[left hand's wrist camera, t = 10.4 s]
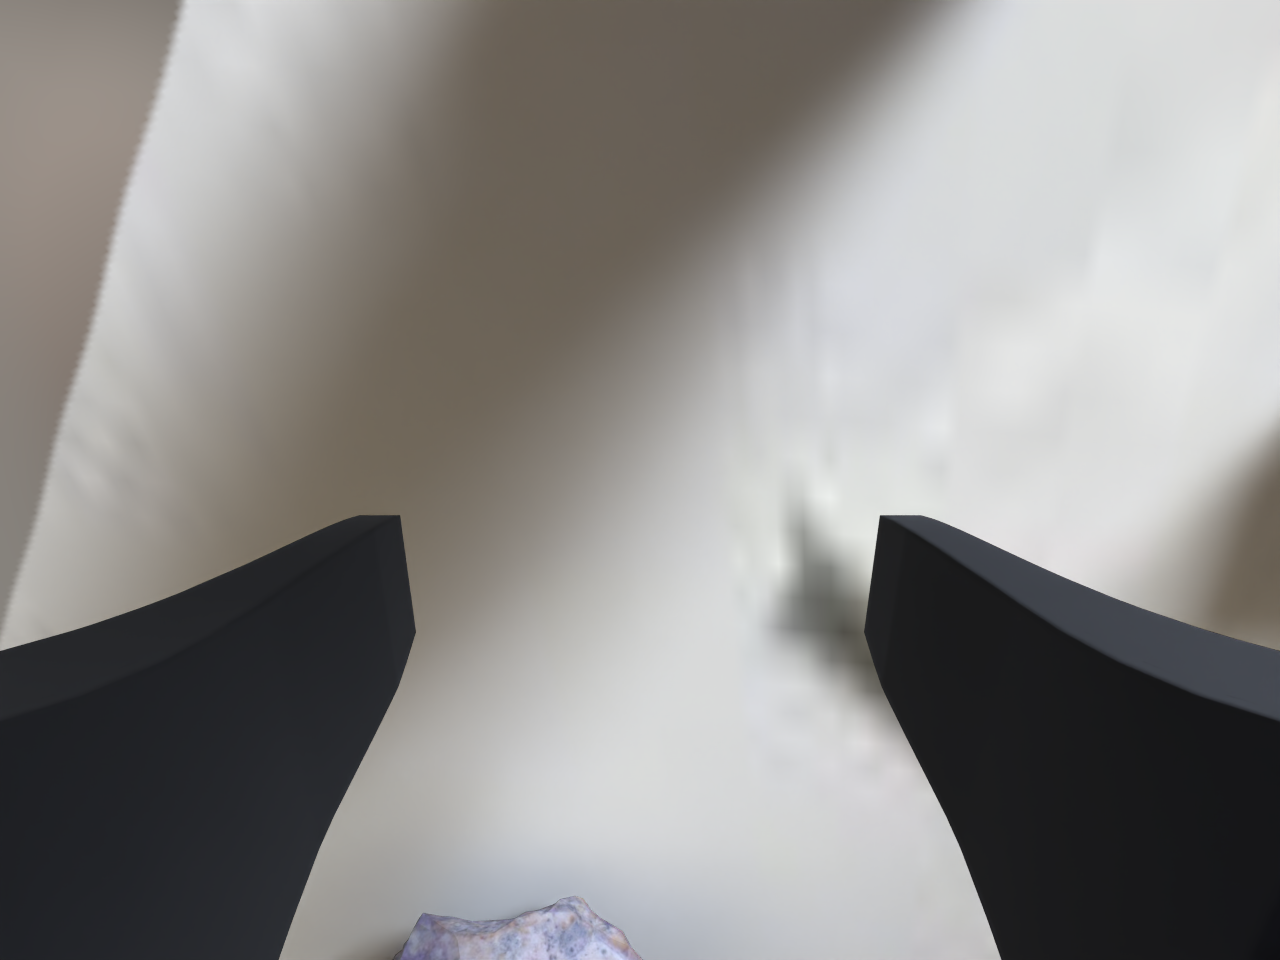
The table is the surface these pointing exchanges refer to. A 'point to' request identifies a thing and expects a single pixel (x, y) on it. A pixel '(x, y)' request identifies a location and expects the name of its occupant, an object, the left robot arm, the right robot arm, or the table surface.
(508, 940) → the stone
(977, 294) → the table surface
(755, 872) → the table surface
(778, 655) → the table surface
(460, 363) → the table surface
